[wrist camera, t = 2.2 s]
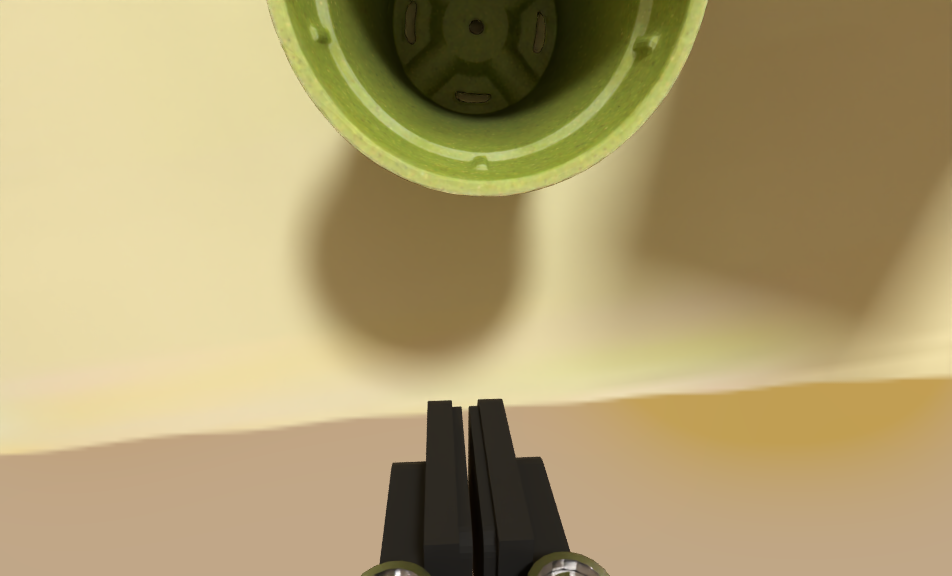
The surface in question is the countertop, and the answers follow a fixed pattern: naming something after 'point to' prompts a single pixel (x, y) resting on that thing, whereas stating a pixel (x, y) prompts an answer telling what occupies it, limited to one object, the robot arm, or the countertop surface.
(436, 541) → the robot arm
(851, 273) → the countertop surface
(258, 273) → the countertop surface
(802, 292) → the countertop surface
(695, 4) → the plant pot
